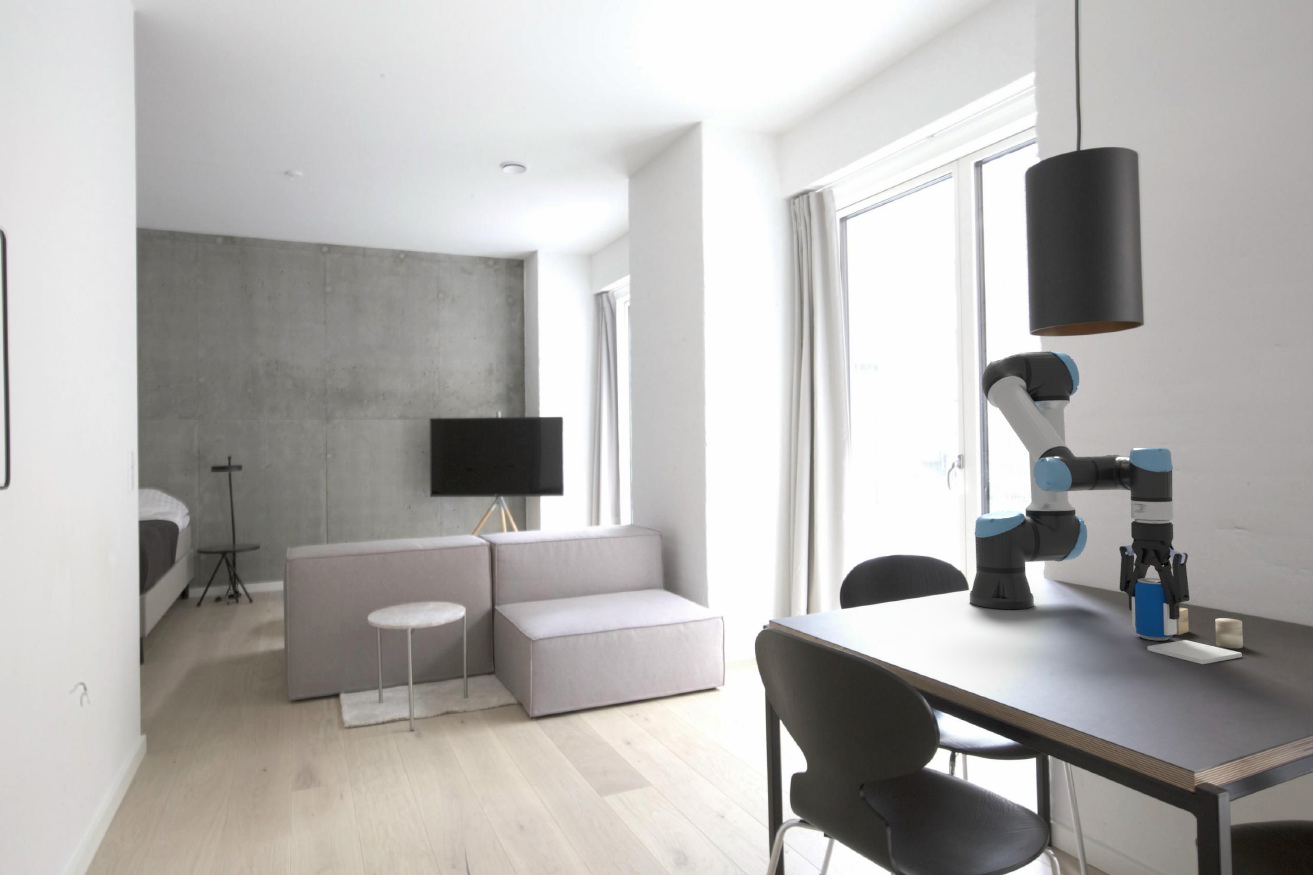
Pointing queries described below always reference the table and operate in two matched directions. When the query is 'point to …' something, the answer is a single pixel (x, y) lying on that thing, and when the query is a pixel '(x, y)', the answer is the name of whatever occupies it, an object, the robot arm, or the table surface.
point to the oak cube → (1182, 622)
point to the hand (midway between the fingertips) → (1153, 630)
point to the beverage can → (1150, 609)
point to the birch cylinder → (1229, 633)
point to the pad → (1194, 651)
